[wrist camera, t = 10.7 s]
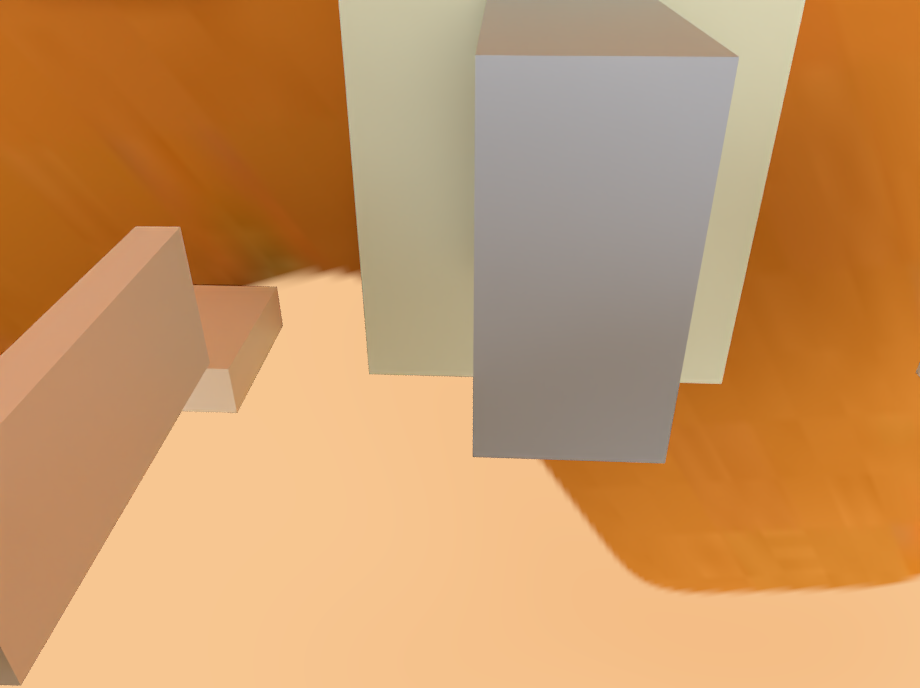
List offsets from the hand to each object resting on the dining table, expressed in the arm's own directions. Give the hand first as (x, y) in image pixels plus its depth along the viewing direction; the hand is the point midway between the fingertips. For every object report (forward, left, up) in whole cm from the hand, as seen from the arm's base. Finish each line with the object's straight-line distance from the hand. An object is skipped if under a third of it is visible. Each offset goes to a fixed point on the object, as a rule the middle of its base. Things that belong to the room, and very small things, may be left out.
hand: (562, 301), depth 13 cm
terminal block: (0, 0, -10) cm, 10 cm away
